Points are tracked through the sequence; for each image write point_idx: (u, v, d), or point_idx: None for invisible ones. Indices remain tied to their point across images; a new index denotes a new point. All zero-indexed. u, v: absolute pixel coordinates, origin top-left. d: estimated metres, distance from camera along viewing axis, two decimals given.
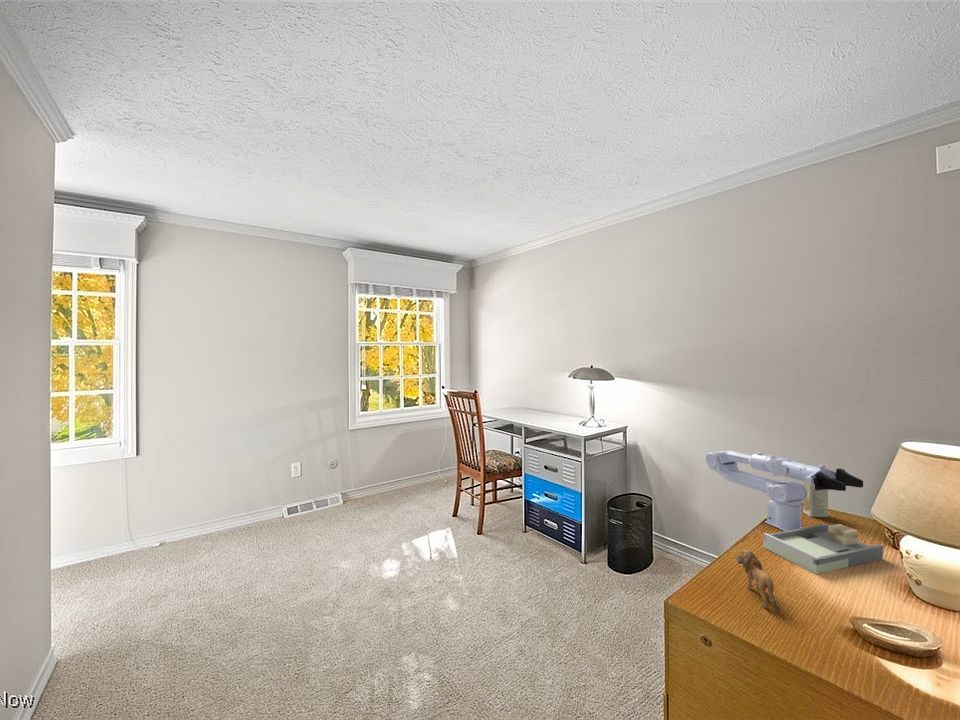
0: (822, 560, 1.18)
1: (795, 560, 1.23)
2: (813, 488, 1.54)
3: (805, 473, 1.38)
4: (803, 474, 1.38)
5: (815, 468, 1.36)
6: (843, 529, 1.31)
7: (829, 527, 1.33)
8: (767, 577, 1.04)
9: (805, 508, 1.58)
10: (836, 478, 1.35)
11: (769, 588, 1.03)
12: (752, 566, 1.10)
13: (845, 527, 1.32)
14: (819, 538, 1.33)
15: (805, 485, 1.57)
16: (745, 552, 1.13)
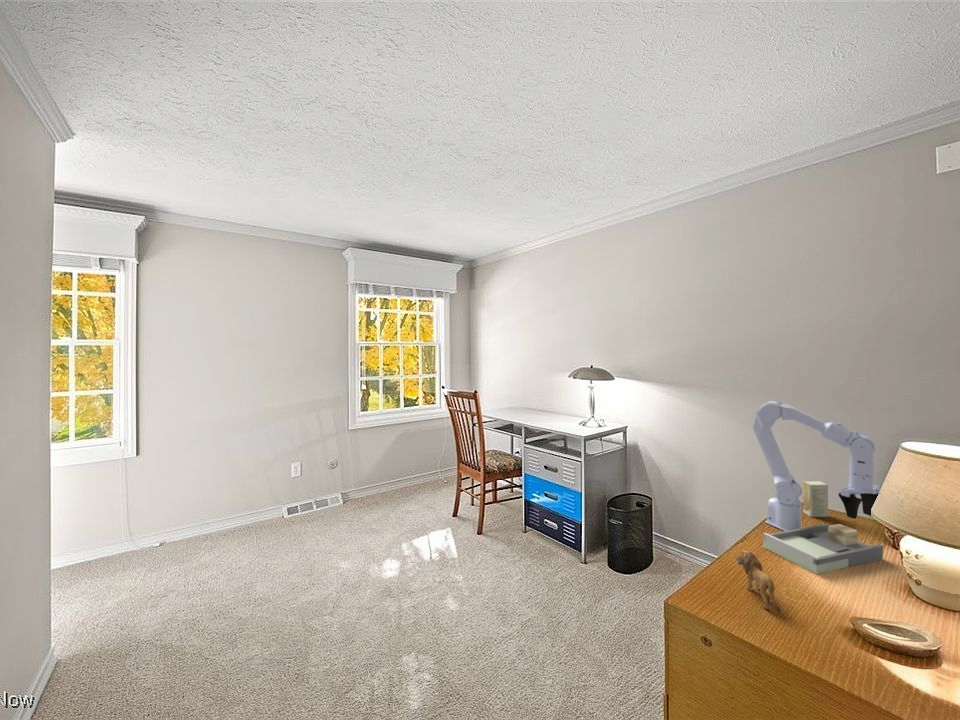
0: (822, 560, 1.18)
1: (795, 560, 1.23)
2: (813, 488, 1.54)
3: (857, 479, 1.31)
4: (855, 477, 1.32)
5: (868, 487, 1.30)
6: (843, 529, 1.31)
7: (829, 527, 1.33)
8: (768, 578, 1.04)
9: (805, 508, 1.58)
10: None
11: (770, 589, 1.02)
12: (752, 566, 1.10)
13: (845, 527, 1.32)
14: (819, 538, 1.33)
15: (805, 485, 1.57)
16: (745, 553, 1.12)
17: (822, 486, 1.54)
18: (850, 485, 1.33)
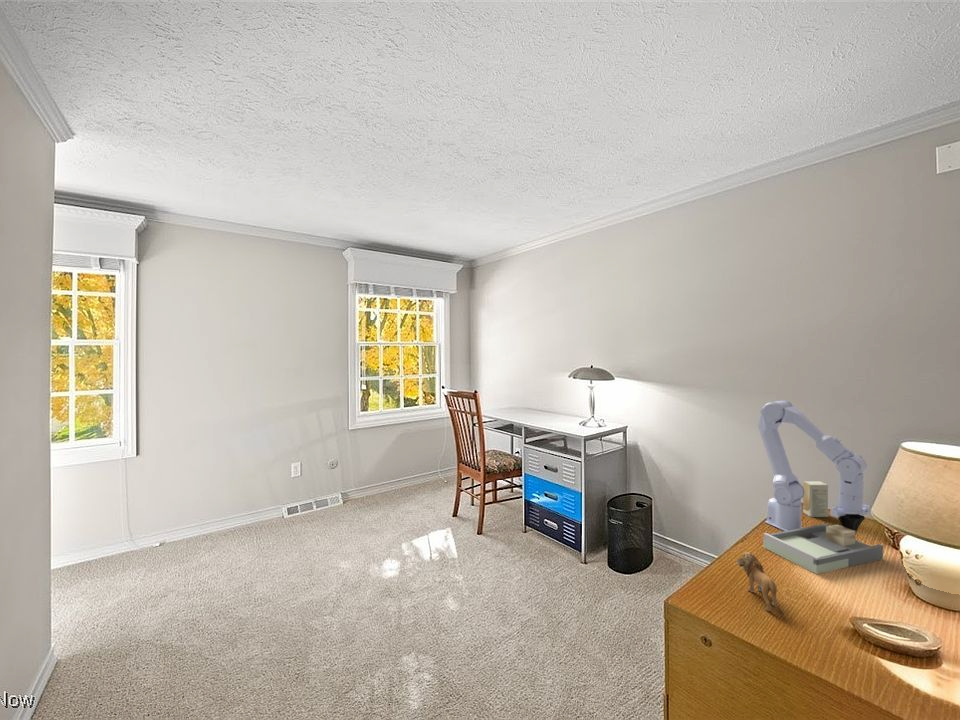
0: (822, 560, 1.18)
1: (795, 560, 1.23)
2: (813, 488, 1.54)
3: (847, 500, 1.30)
4: (845, 498, 1.31)
5: (858, 508, 1.29)
6: (841, 529, 1.30)
7: (827, 527, 1.32)
8: (770, 580, 1.03)
9: (805, 508, 1.58)
10: None
11: (772, 591, 1.01)
12: (754, 568, 1.09)
13: (843, 527, 1.31)
14: (819, 538, 1.33)
15: (805, 485, 1.57)
16: (746, 555, 1.11)
17: (822, 486, 1.54)
18: (840, 505, 1.32)
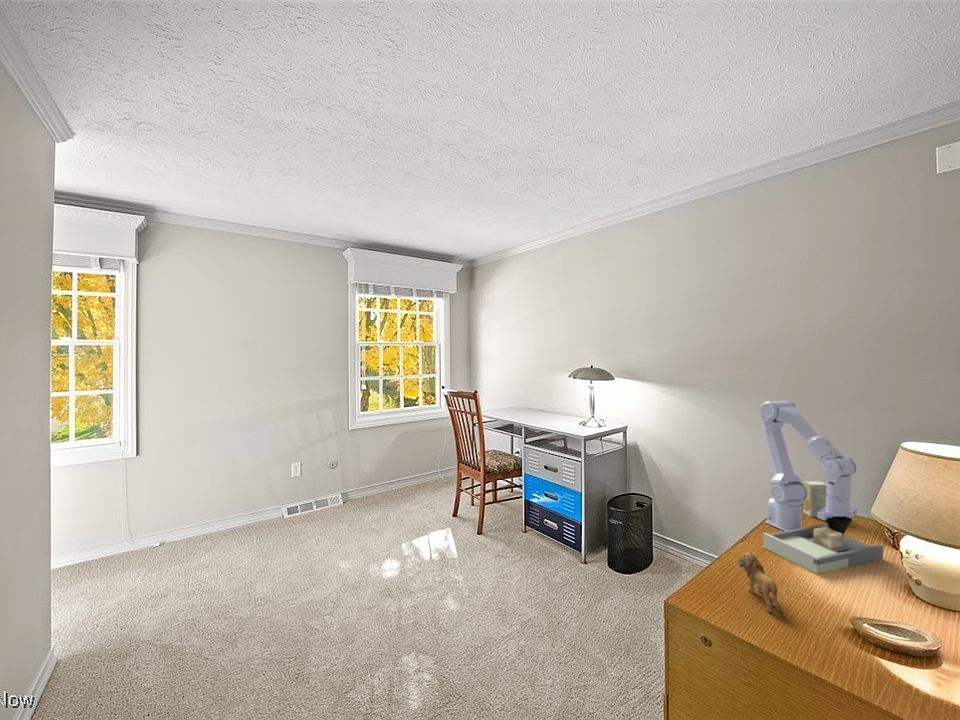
0: (822, 560, 1.18)
1: (795, 560, 1.23)
2: (813, 488, 1.54)
3: (834, 502, 1.29)
4: (832, 500, 1.29)
5: (845, 510, 1.27)
6: (828, 532, 1.29)
7: (814, 530, 1.31)
8: (771, 581, 1.03)
9: (805, 508, 1.58)
10: None
11: (773, 592, 1.01)
12: (754, 569, 1.08)
13: (830, 530, 1.30)
14: None
15: (805, 485, 1.57)
16: (746, 555, 1.11)
17: (822, 486, 1.54)
18: (827, 507, 1.31)
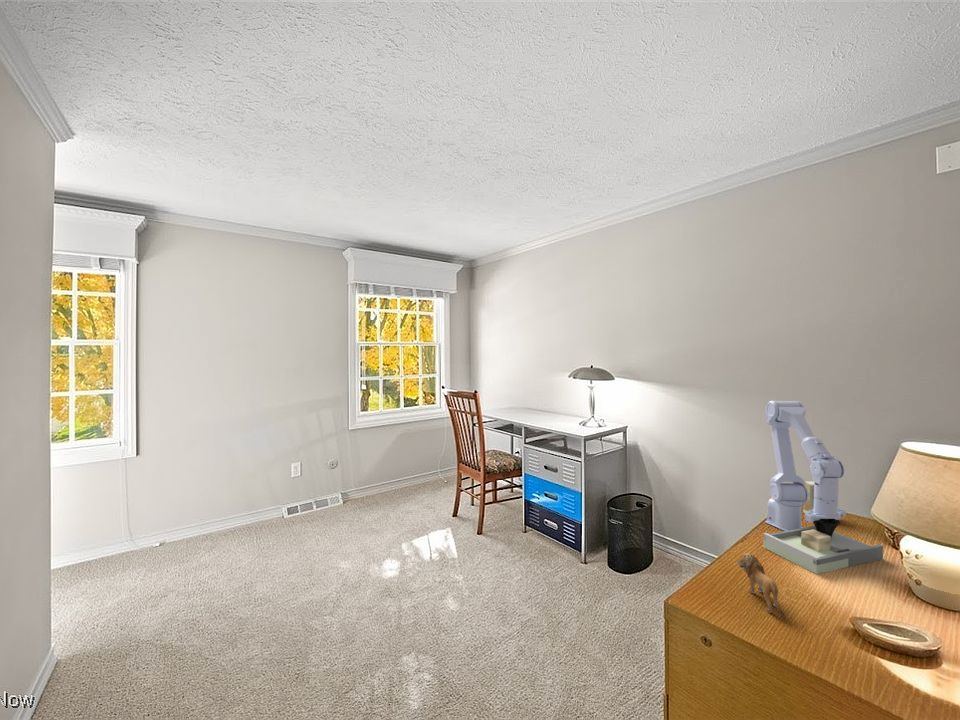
0: (822, 560, 1.18)
1: (795, 560, 1.23)
2: (813, 488, 1.54)
3: (821, 504, 1.27)
4: (819, 502, 1.27)
5: (832, 512, 1.26)
6: (816, 534, 1.27)
7: (802, 533, 1.29)
8: (771, 581, 1.03)
9: (805, 508, 1.58)
10: None
11: (774, 593, 1.01)
12: (755, 569, 1.08)
13: (818, 533, 1.28)
14: None
15: None
16: (747, 556, 1.11)
17: None
18: (814, 509, 1.29)
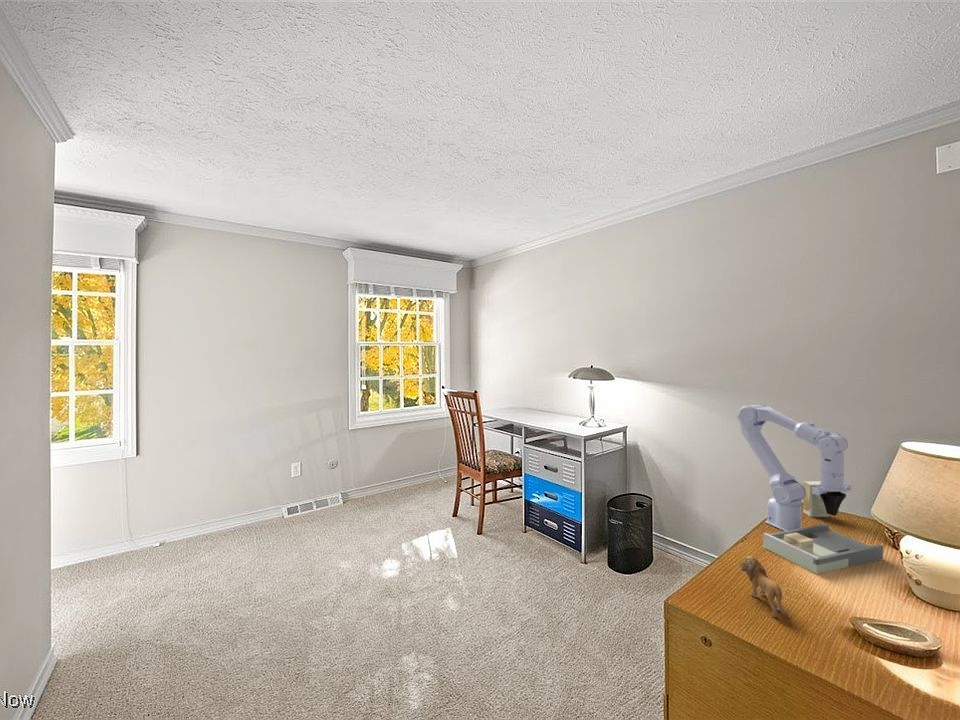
0: (822, 560, 1.18)
1: (795, 560, 1.23)
2: None
3: (828, 478, 1.33)
4: (826, 476, 1.33)
5: (839, 485, 1.32)
6: (799, 538, 1.25)
7: (785, 536, 1.27)
8: (775, 585, 1.01)
9: (805, 508, 1.58)
10: None
11: (778, 597, 0.99)
12: (757, 573, 1.07)
13: (801, 536, 1.26)
14: (819, 538, 1.33)
15: (805, 485, 1.57)
16: (749, 559, 1.09)
17: None
18: (821, 484, 1.35)
